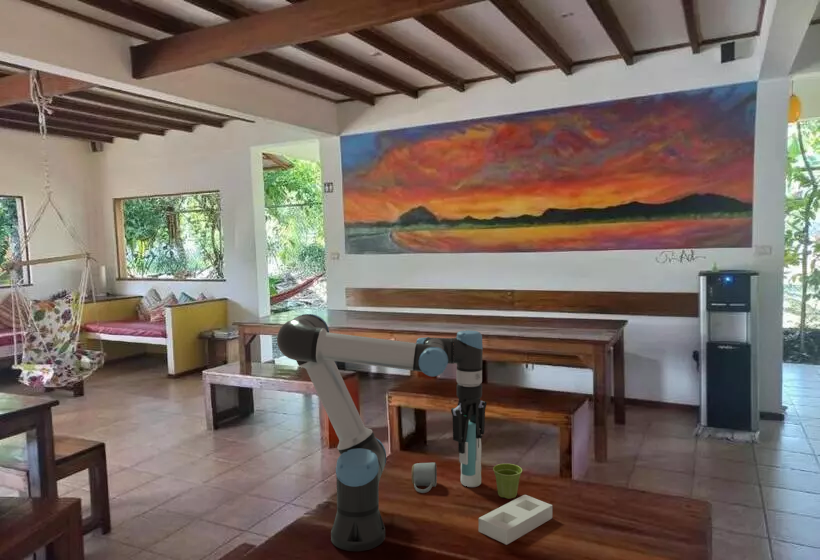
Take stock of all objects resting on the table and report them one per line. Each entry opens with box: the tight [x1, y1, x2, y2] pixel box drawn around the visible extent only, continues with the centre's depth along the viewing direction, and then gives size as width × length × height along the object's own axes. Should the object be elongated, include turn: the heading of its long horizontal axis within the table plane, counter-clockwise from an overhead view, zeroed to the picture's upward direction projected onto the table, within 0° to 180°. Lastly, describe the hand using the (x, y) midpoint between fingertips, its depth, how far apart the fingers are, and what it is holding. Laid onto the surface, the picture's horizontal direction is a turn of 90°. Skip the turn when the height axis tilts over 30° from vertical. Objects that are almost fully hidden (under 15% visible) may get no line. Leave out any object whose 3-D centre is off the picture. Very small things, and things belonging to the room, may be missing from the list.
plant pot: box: [492, 463, 523, 499], centre depth 188 cm, size 9×9×9 cm
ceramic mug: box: [411, 462, 438, 494], centre depth 194 cm, size 11×8×8 cm
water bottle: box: [460, 415, 482, 488], centre depth 196 cm, size 7×7×25 cm
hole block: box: [478, 494, 553, 545], centre depth 168 cm, size 10×22×4 cm, turn 133°
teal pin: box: [462, 422, 476, 476], centre depth 171 cm, size 4×4×15 cm
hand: (468, 461), depth 171 cm, fingers closed on teal pin, 4 cm apart
